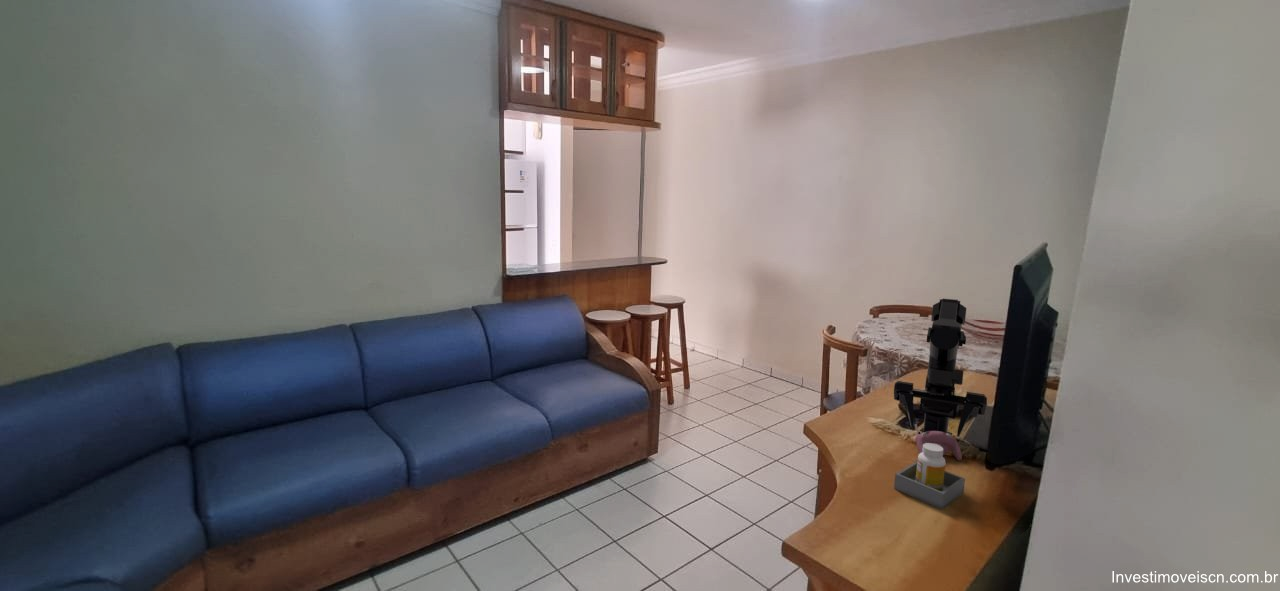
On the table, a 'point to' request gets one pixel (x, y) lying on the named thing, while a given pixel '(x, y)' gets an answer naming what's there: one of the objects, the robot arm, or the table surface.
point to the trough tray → (908, 485)
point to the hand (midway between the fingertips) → (934, 431)
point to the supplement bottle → (931, 466)
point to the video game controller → (939, 437)
